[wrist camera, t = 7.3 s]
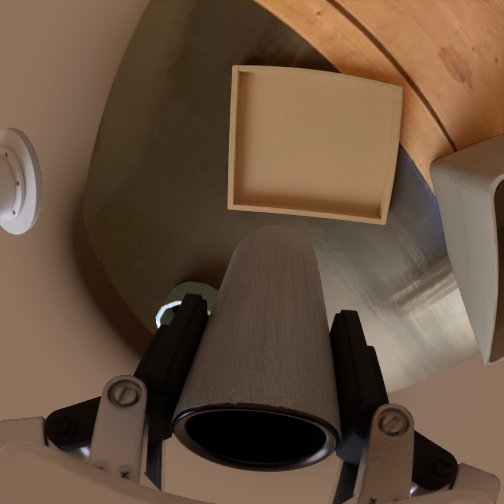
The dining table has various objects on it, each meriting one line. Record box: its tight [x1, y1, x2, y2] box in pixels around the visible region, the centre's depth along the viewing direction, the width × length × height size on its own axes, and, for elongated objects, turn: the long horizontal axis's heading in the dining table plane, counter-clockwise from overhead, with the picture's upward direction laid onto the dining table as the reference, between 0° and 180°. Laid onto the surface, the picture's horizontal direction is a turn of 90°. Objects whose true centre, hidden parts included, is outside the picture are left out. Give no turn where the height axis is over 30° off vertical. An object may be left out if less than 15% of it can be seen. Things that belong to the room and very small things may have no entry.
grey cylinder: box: [172, 226, 341, 472], centre depth 11 cm, size 4×4×10 cm
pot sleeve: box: [156, 281, 219, 328], centre depth 37 cm, size 9×9×4 cm
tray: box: [228, 65, 403, 225], centre depth 26 cm, size 17×15×2 cm
